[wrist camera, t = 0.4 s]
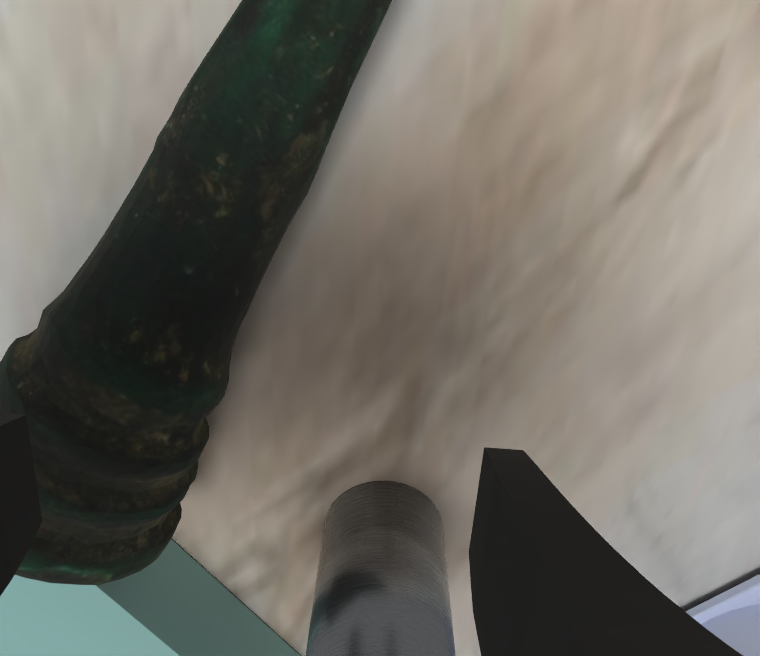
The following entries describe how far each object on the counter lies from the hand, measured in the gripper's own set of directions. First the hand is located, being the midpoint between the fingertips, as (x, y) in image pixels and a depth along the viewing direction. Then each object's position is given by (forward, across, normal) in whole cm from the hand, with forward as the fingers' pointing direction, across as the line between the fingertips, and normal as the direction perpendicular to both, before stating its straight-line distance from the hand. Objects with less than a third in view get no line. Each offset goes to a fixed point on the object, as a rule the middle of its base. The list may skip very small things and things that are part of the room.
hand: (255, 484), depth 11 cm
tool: (+10, +2, -6) cm, 12 cm away
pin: (+10, -2, +9) cm, 13 cm away
